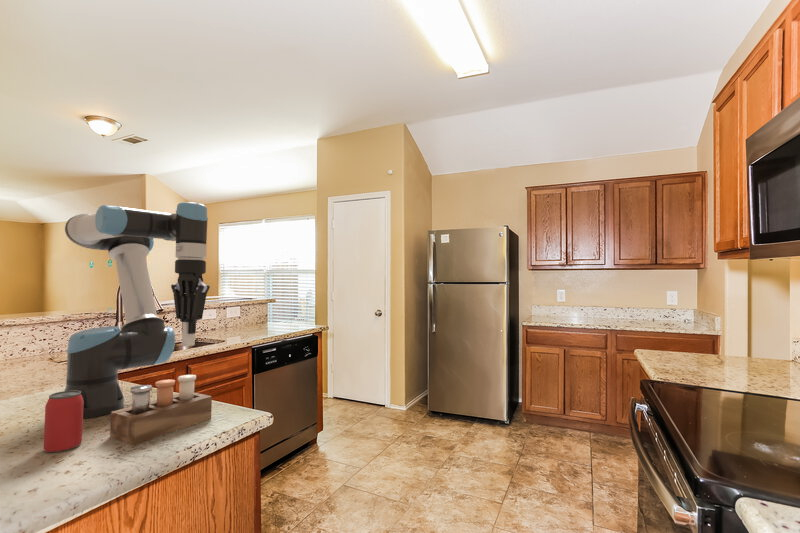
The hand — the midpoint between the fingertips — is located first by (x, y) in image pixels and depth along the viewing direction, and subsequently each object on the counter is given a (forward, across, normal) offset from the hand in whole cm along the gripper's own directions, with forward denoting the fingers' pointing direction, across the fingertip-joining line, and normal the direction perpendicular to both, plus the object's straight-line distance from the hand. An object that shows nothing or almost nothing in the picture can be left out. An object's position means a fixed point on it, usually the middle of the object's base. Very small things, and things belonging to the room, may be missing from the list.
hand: (188, 345), depth 106 cm
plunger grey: (+15, 0, -12) cm, 19 cm away
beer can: (+20, -8, -24) cm, 32 cm away
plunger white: (+15, 0, 0) cm, 15 cm away
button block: (+20, 0, -6) cm, 21 cm away
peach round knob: (+15, 0, -6) cm, 16 cm away
